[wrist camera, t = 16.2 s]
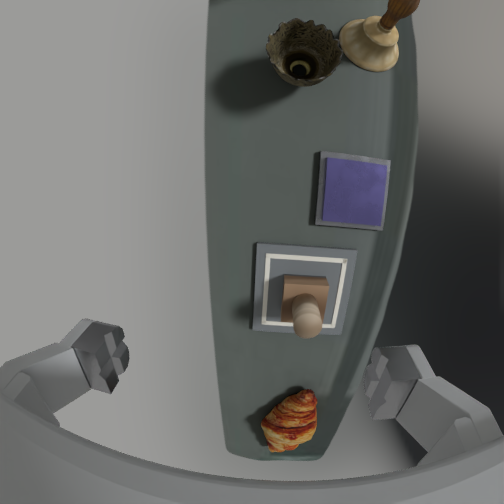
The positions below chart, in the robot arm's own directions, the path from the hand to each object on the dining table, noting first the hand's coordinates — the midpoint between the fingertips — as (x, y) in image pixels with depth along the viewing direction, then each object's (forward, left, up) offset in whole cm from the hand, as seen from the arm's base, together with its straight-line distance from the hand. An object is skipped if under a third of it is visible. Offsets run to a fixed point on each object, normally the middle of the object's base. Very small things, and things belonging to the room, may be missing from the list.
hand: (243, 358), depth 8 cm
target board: (+6, +11, -28) cm, 31 cm away
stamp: (+6, +11, -28) cm, 30 cm away
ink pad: (-8, +7, -28) cm, 30 cm away
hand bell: (-26, -4, -28) cm, 39 cm away
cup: (-16, -8, -28) cm, 33 cm away
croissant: (+27, +28, -29) cm, 48 cm away
